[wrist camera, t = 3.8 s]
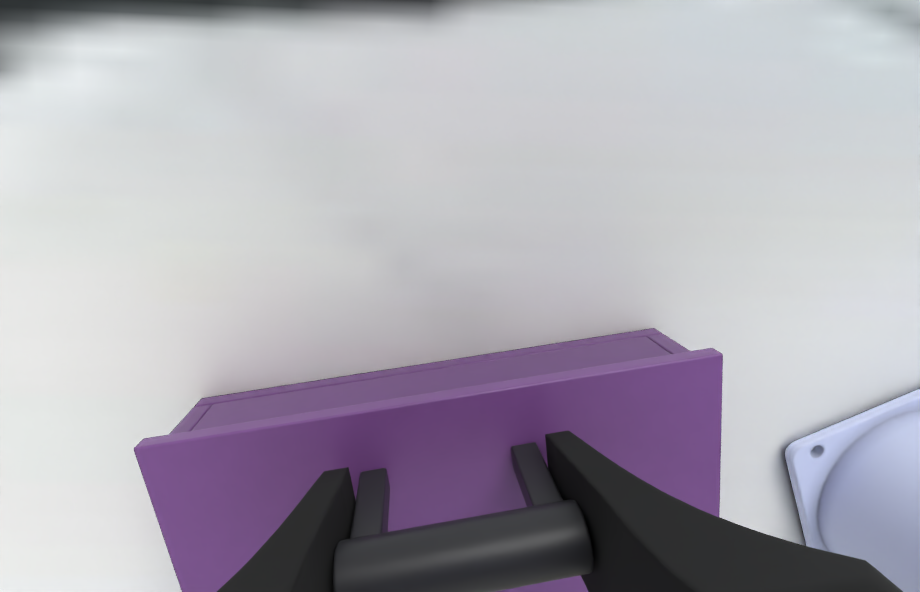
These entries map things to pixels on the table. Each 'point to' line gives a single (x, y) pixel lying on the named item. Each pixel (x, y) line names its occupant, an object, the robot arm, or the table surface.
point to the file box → (425, 378)
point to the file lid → (441, 477)
